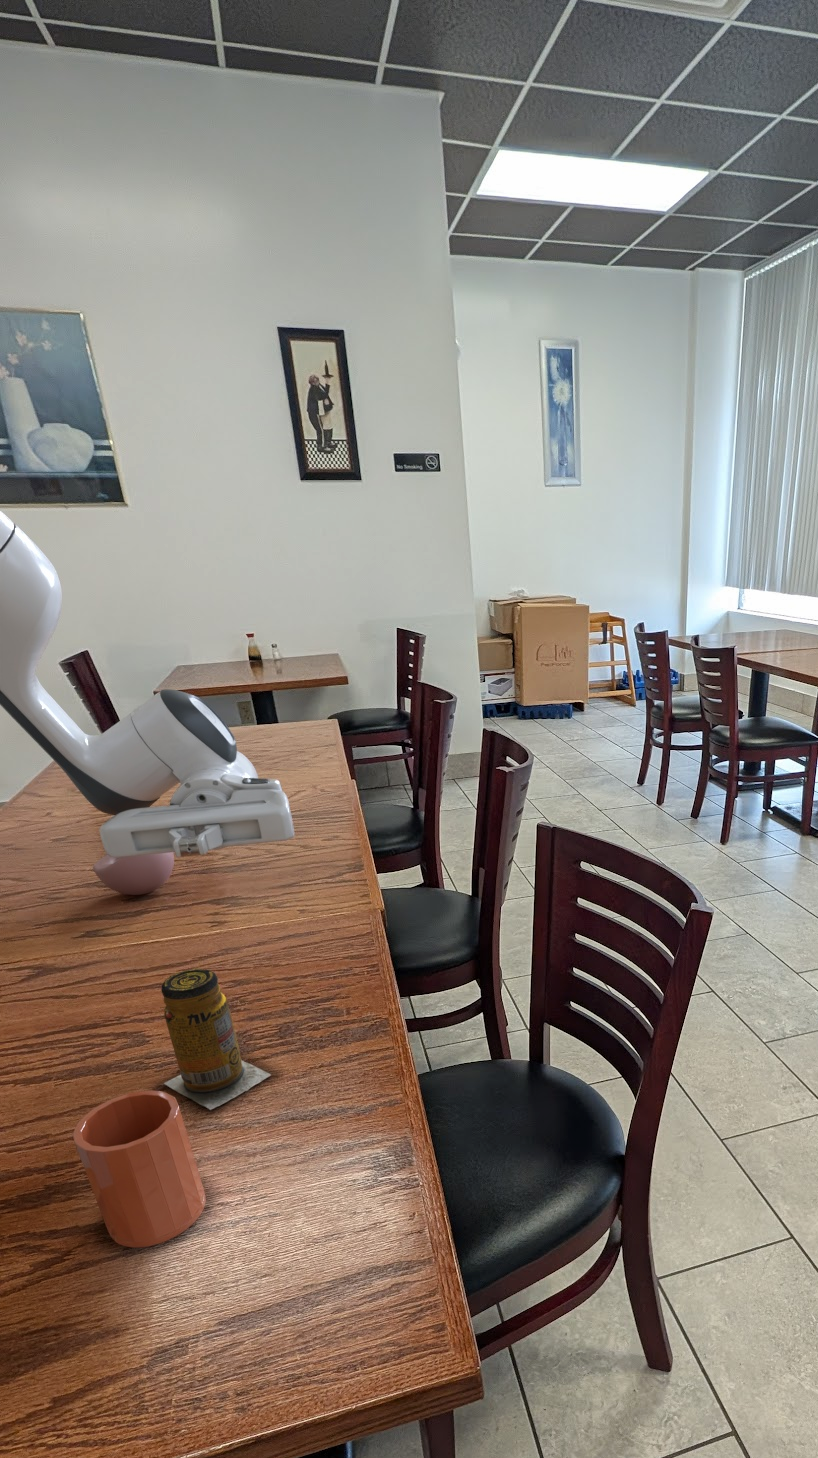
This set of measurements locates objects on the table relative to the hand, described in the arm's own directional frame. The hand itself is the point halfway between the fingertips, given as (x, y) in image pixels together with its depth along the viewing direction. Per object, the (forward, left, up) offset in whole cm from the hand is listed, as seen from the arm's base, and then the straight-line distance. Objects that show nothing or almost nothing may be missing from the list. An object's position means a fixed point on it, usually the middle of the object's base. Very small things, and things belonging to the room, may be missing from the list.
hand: (189, 849), depth 87 cm
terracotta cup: (-2, -30, -22) cm, 37 cm away
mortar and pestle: (-21, +49, -22) cm, 58 cm away
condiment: (0, -11, -22) cm, 25 cm away
